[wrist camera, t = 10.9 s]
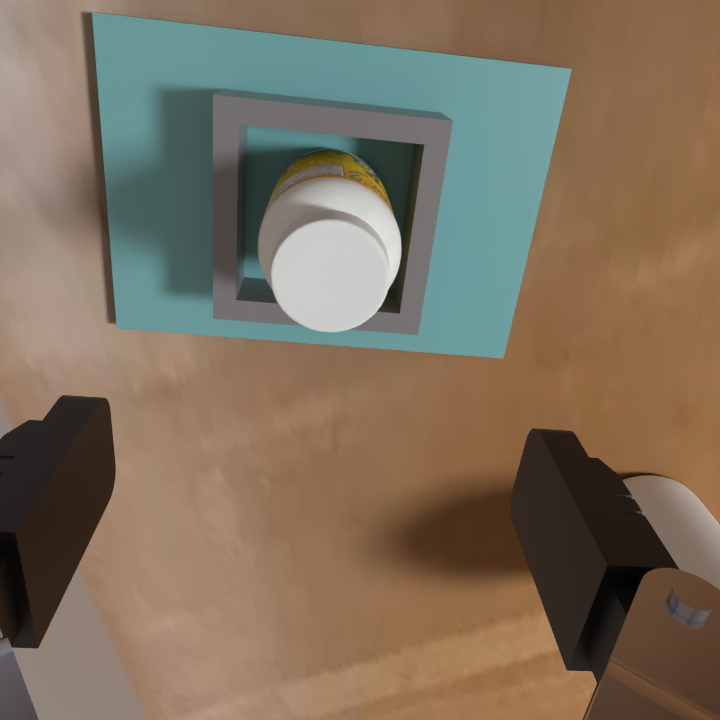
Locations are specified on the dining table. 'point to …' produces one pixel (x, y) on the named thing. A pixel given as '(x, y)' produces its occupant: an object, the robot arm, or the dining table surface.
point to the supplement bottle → (329, 241)
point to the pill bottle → (680, 524)
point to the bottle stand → (297, 137)
